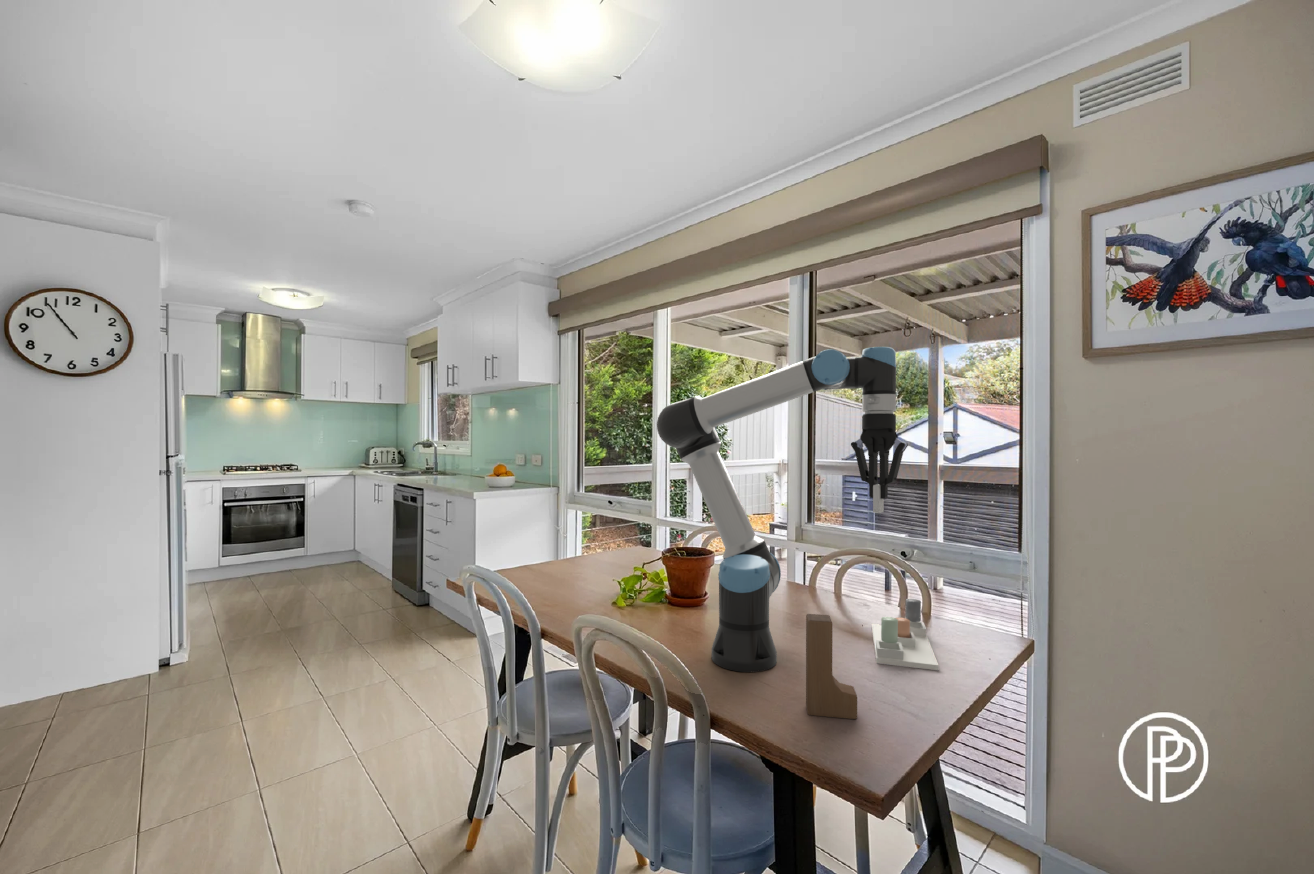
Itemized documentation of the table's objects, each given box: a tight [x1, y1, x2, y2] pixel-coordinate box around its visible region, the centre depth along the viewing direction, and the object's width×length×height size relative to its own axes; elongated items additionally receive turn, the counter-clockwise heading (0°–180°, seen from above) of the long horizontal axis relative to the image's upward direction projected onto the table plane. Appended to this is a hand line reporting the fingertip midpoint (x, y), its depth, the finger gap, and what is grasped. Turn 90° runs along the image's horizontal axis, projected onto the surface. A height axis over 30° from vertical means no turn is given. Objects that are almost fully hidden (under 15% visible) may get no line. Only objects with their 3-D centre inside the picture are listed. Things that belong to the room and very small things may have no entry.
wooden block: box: [805, 613, 858, 720], centre depth 109 cm, size 9×4×18 cm, turn 80°
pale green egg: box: [880, 616, 898, 643], centre depth 134 cm, size 4×4×5 cm
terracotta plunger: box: [895, 617, 910, 638], centre depth 142 cm, size 4×4×5 cm
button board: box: [871, 621, 940, 671], centre depth 142 cm, size 13×25×3 cm, turn 162°
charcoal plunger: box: [905, 598, 922, 622], centre depth 149 cm, size 4×4×5 cm
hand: (878, 512), depth 136 cm, fingers closed
